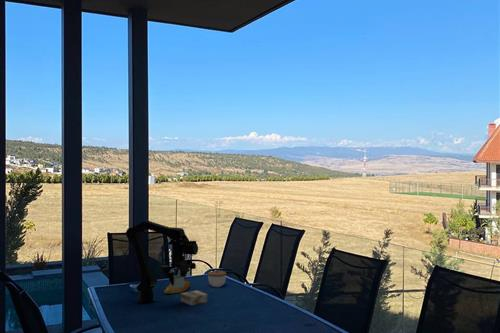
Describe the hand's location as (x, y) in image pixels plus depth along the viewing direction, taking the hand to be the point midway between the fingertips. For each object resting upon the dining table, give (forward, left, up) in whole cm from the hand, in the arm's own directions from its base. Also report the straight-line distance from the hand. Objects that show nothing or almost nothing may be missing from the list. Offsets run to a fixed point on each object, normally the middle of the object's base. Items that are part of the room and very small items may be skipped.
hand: (177, 284), depth 235 cm
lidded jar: (+38, +20, -10) cm, 44 cm away
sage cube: (0, 0, -1) cm, 1 cm away
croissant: (+14, +25, -11) cm, 30 cm away
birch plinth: (+10, 0, -10) cm, 14 cm away
